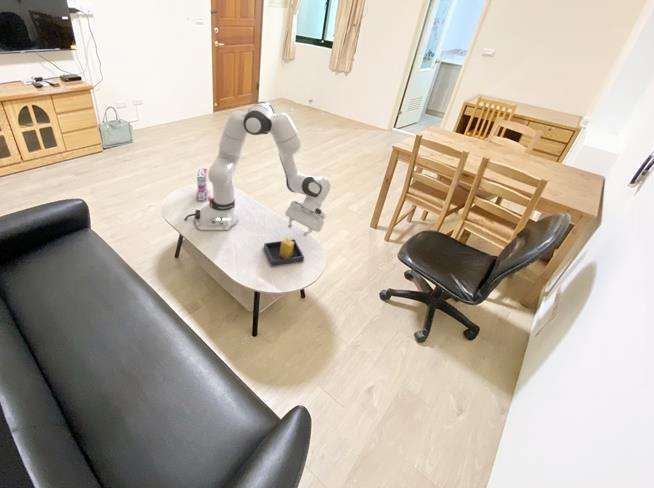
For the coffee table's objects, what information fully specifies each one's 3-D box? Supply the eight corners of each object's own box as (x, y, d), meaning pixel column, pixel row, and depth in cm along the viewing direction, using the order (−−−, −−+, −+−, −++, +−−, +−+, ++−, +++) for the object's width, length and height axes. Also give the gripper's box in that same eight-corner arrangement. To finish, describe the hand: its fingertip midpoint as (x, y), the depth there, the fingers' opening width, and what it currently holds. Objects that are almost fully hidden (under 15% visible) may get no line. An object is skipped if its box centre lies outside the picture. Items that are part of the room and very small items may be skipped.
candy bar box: (206, 201, 200) (205, 177, 190) (197, 201, 199) (196, 177, 190) (207, 191, 209) (207, 168, 200) (199, 191, 208) (198, 168, 199)
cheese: (279, 255, 166) (281, 241, 161) (284, 251, 169) (286, 237, 164) (287, 259, 164) (289, 246, 159) (292, 255, 166) (294, 242, 161)
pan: (271, 266, 159) (272, 261, 157) (263, 248, 170) (264, 243, 168) (303, 261, 164) (304, 256, 162) (293, 244, 174) (294, 239, 173)
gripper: (291, 197, 168) (277, 221, 167) (326, 214, 159) (312, 239, 158) (295, 201, 174) (282, 224, 173) (329, 217, 164) (315, 242, 163)
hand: (296, 231), depth 165 cm, fingers open, 8 cm apart
